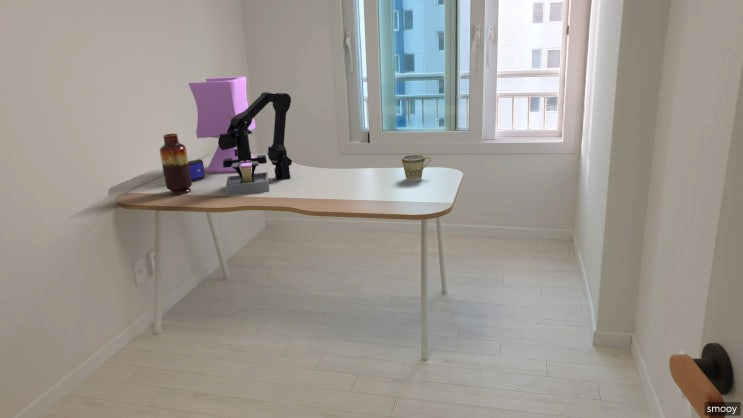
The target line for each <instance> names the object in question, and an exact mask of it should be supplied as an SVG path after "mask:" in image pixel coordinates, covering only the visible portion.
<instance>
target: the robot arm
mask: <svg viewBox="0 0 743 418" xmlns="http://www.w3.org/2000/svg"><path fill="white" fill-rule="evenodd" d="M269 103H272V107H273V109H274V112H275V113H274V127H273V128H274V129H273V141H272V144H271V146H268V147H267V154H258V155H256V157H254V158H251V155H252V151H251V147H250V139H249V135H251V134H253V132H252V130H249V129H248V127H249V126H250V125H251V123H252V119H254V118H255V117H256V116H257V115H258V114H259V113H260V112H261V111H262V110H263V109H264V108H265V107H266V106H267V105H268V104H269ZM291 103H292V97H291V95H290V94H289V93H286V92H276V93H272V92H270V91H269V92H268V91H267V92H265V91H263V92H262V93H261V94H260V96H258V97H257V98H256V99H255V100H254V101H253V102H252V103H251V104H250V105H248V108H247V109H246V110H245V111H244V112H242V113H239V114H237V115H236V116H234V117H233V118H232V119H231V124H230V126H229V128H228V130H227V133H226V134H220V138H218V140H217V141H218V142H217V145H218V146H219V147H220V148H221V150H227V149H231V148H235V147H236V148H237V149H234V152H235V156H236V157H237V156H238V160H233V159H232V158H228V159H224V160H223V167H224V168H226V167H231V166H233V167H232V168H233V169H235V170H236V171H237V172H238V173H237V174H238V175H239V176H240V177H241V179H242V181H243V178H242V172H241V169H240V164H241V163H251V162H252V167H251V173H252V180H253V177H254V174H255V172H256V169H257V167H258V166H260V164H261V165H264V164H267V163H268V160H269V161H270V162H271V165H272V166H274V176H275V177H274V178H276V180H277V181H278V180H288V179H291V171H290V166H292V164H293V163H292V162H293V160H292V159H291V158H290V157H288V156H287V149H286V147H285V136H286V135H285V134H286V133H285V132H286V123H287V122H286V120H287V112H288V111H289V109H291V108H290V107H291ZM237 130H238V131H237ZM267 157H268V160H267ZM249 160H250V161H249ZM240 161H241V162H240Z"/></svg>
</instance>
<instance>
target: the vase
mask: <svg viewBox="0 0 743 418" xmlns="http://www.w3.org/2000/svg"><path fill="white" fill-rule="evenodd" d="M162 137H163V143H164V144H163V145H162V146H161V147H160V148H159V154H160V155H159V156H160V160H161V165H162V171H163V177H164V182H165V185H166V189H167V190H168V191H169V194H170V195H174V196H178V195H179V196H180V195H184V194H188V193H190V192H191V191H192V188H190V187H191V186H192V185H193V182H192V180H191V174H190V169H189V163H188V161H189V158H188V153H187V148H186V145H184V144H182V143H181V142H179V138H178V137H179V136H178V133H166V134H163V135H162Z"/></svg>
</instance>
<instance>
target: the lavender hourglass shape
mask: <svg viewBox="0 0 743 418" xmlns="http://www.w3.org/2000/svg"><path fill="white" fill-rule="evenodd" d="M188 86H189V88H190V91H191V93H192V96H193V98H194V101H195V104H196V109H197V111H196V112H197V121H196V122H197V124H196V133H195V134H196V138H197V139H203V138H204V139H205V138H214V139H219V138H220V134H226V133H227V130H228V128H229V126H230V124H231V119H232V118H233V117H234V116H236V115H237V114H239V113H242V112H244V111H245V110H246V109H247V108H248V107H249V104H248V100H247V99H248V97H247V76H227V77H224V76H223V77H210V78H209V77H208V78H205V81H200V82H197V81H196V82H188ZM248 129H249V130H250V131H252V130H254V129H256V121H255V119H254V118H253V119H252V123H251V125H250V126H249V127H248ZM237 131H238V130H237ZM234 149H237V148H236V147H235V148H231V149H227V150H221V148H220V147H219V145H218V146H217V148H216V150H215V151H214V154H213V156H212V158H211V160H210V161H209V162H210V163H209V164H208V166H207V169H206V174H232V173H233V174H234V173H236V174H238V172H237V171H236V170H235V169H233V168H232V167H233V166H231V167H226V168H224V167H223V160H224V159H228V158H232V159H233V160H238V156H237V157H236V156H235V152H234ZM251 158H255V157H254V156H253V154H251ZM249 161H250V160H249ZM240 162H241V161H240ZM249 165H251V168H252V162H251V163H241V164H240V169H241V166H249ZM241 172H242V171H241Z"/></svg>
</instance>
